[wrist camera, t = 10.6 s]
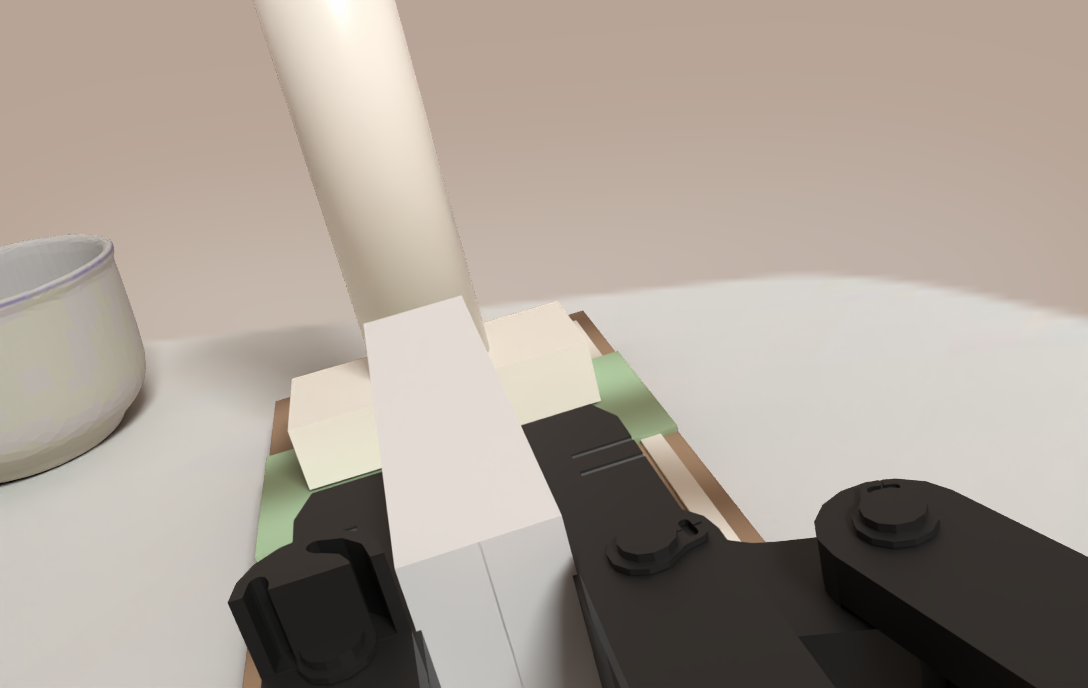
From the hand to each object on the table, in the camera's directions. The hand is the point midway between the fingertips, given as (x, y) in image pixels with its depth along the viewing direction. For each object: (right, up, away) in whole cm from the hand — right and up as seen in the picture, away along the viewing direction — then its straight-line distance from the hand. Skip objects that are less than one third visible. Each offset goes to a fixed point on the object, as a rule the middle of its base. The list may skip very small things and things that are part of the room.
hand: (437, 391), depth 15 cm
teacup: (-20, -4, +26) cm, 33 cm away
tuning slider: (-1, -2, +16) cm, 16 cm away
